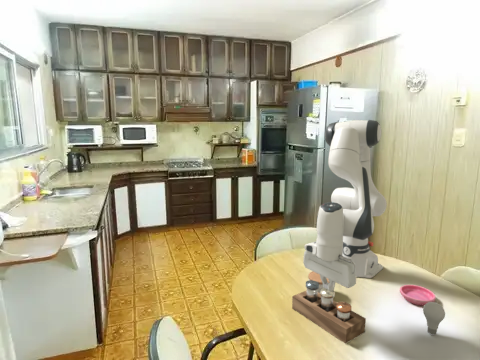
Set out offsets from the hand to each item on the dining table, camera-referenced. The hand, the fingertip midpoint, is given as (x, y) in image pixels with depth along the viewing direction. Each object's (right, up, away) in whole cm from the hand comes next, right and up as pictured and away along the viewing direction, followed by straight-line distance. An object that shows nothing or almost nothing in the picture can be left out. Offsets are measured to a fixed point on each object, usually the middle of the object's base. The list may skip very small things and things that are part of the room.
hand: (327, 288), depth 111 cm
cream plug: (0, -7, +1) cm, 7 cm away
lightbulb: (+32, -13, -6) cm, 35 cm away
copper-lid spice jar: (+4, -10, -4) cm, 11 cm away
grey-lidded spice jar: (-4, -6, +7) cm, 10 cm away
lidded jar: (+3, -9, +19) cm, 21 cm away
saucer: (+39, -10, +15) cm, 43 cm away
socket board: (0, -12, +2) cm, 12 cm away
